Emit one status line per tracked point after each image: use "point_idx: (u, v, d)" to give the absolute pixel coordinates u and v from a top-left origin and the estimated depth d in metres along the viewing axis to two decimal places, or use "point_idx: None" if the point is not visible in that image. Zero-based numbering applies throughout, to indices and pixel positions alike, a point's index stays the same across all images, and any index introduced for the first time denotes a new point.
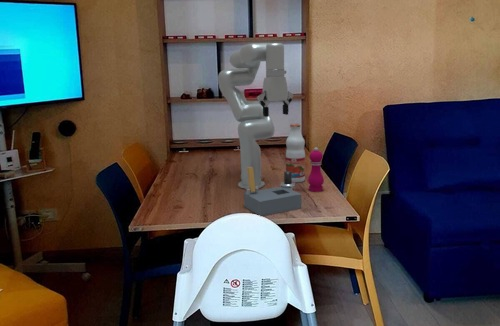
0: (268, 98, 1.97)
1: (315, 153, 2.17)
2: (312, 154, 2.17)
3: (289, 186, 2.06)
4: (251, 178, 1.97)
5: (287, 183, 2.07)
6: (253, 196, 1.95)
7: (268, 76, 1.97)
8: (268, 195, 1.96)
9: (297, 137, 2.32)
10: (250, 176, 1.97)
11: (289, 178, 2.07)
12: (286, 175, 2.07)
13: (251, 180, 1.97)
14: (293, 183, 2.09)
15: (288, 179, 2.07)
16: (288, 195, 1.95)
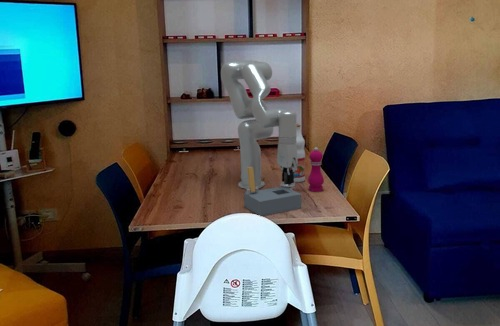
0: (297, 163, 2.04)
1: (315, 153, 2.17)
2: (312, 154, 2.17)
3: (289, 186, 2.06)
4: (251, 178, 1.97)
5: None
6: (253, 196, 1.95)
7: (293, 143, 2.02)
8: (268, 195, 1.96)
9: (297, 137, 2.32)
10: (250, 176, 1.97)
11: None
12: (286, 175, 2.07)
13: (251, 180, 1.97)
14: (293, 183, 2.09)
15: None
16: (288, 195, 1.95)
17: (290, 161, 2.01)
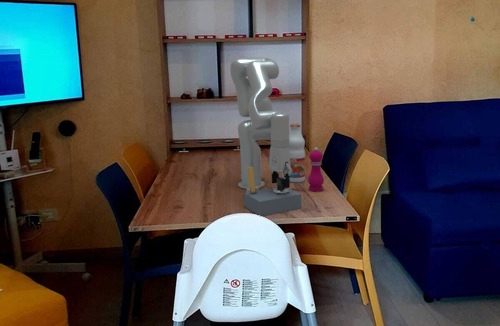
0: None
1: (315, 153, 2.17)
2: (312, 154, 2.17)
3: (282, 192, 1.97)
4: (251, 178, 1.97)
5: (280, 189, 1.99)
6: (253, 196, 1.95)
7: (286, 146, 1.93)
8: (268, 195, 1.96)
9: (297, 137, 2.32)
10: (250, 176, 1.97)
11: None
12: (279, 181, 1.98)
13: (251, 180, 1.97)
14: (286, 189, 2.00)
15: (281, 185, 1.98)
16: (288, 195, 1.95)
17: (282, 165, 1.92)
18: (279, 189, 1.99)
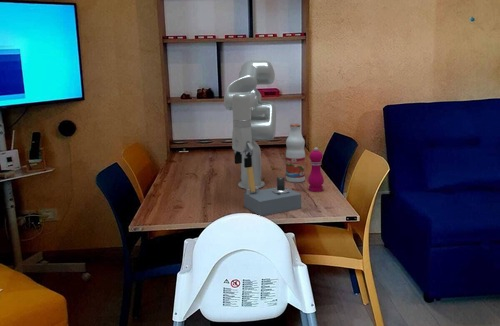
0: None
1: (315, 153, 2.17)
2: (312, 154, 2.17)
3: (282, 192, 1.97)
4: (251, 178, 1.98)
5: (280, 189, 1.99)
6: (253, 196, 1.95)
7: (247, 126, 1.97)
8: (268, 195, 1.96)
9: (297, 137, 2.32)
10: (250, 176, 1.97)
11: (282, 184, 1.98)
12: (279, 181, 1.98)
13: (251, 180, 1.98)
14: (286, 189, 2.00)
15: (281, 185, 1.98)
16: (288, 195, 1.95)
17: (244, 145, 1.96)
18: (279, 189, 1.99)
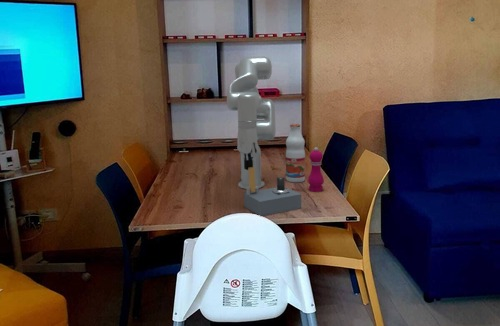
0: (257, 149, 1.94)
1: (315, 153, 2.17)
2: (312, 154, 2.17)
3: (282, 192, 1.97)
4: (252, 178, 1.97)
5: (280, 189, 1.99)
6: (253, 196, 1.95)
7: (253, 127, 1.92)
8: (268, 195, 1.96)
9: (297, 137, 2.32)
10: (251, 176, 1.97)
11: (282, 184, 1.98)
12: (279, 181, 1.98)
13: (252, 180, 1.97)
14: (286, 189, 2.00)
15: (281, 185, 1.98)
16: (288, 195, 1.95)
17: (249, 146, 1.92)
18: (279, 189, 1.99)
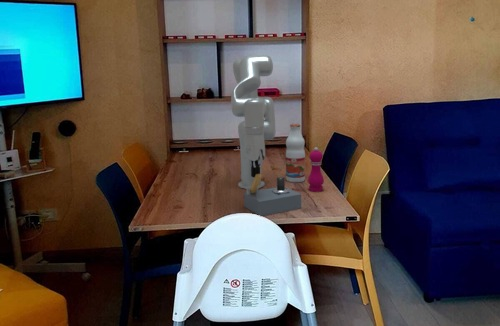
0: (264, 156, 1.89)
1: (315, 153, 2.17)
2: (312, 154, 2.17)
3: (282, 192, 1.97)
4: (256, 184, 1.94)
5: (280, 189, 1.99)
6: (253, 196, 1.95)
7: (260, 134, 1.87)
8: (268, 195, 1.96)
9: (297, 137, 2.32)
10: (255, 183, 1.94)
11: (282, 184, 1.98)
12: (279, 181, 1.98)
13: (255, 185, 1.95)
14: (286, 189, 2.00)
15: (281, 185, 1.98)
16: (288, 195, 1.95)
17: (257, 153, 1.87)
18: (279, 189, 1.99)
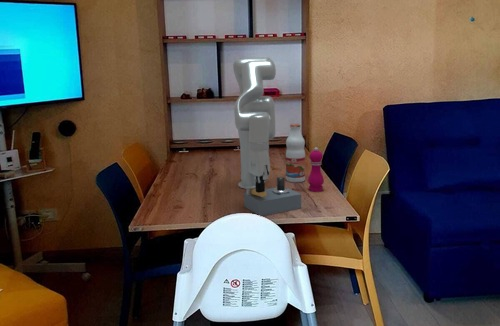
0: (269, 171, 1.87)
1: (315, 153, 2.17)
2: (312, 154, 2.17)
3: (282, 192, 1.97)
4: None
5: (280, 189, 1.99)
6: (253, 196, 1.95)
7: (265, 149, 1.85)
8: (268, 195, 1.96)
9: (297, 137, 2.32)
10: None
11: (282, 184, 1.98)
12: (279, 181, 1.98)
13: None
14: (286, 189, 2.00)
15: (281, 185, 1.98)
16: (288, 195, 1.95)
17: (261, 169, 1.85)
18: (279, 189, 1.99)
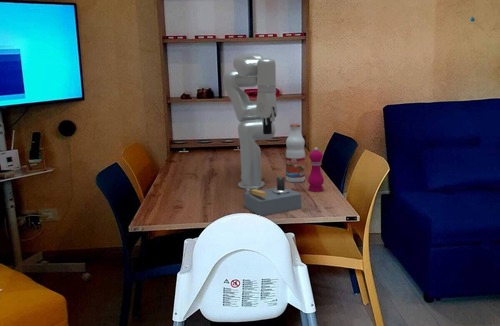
0: (276, 113, 1.98)
1: (315, 153, 2.17)
2: (312, 154, 2.17)
3: (282, 192, 1.97)
4: None
5: (280, 189, 1.99)
6: (253, 196, 1.95)
7: (272, 92, 1.96)
8: (268, 195, 1.96)
9: (297, 137, 2.32)
10: None
11: (282, 184, 1.98)
12: (279, 181, 1.98)
13: None
14: (286, 189, 2.00)
15: (281, 185, 1.98)
16: (288, 195, 1.95)
17: (269, 110, 1.95)
18: (279, 189, 1.99)
